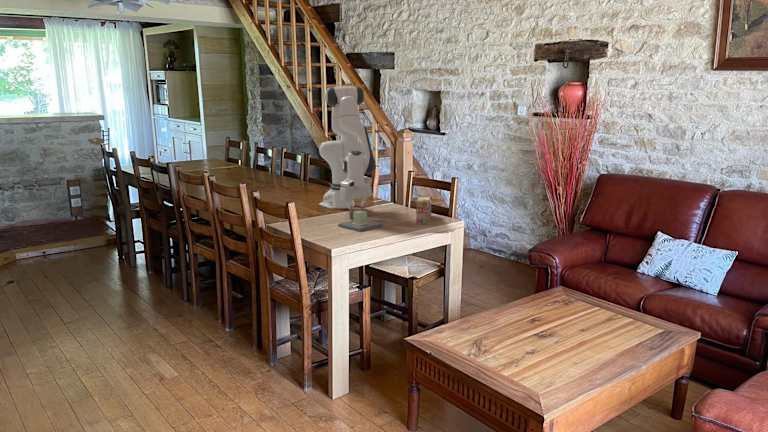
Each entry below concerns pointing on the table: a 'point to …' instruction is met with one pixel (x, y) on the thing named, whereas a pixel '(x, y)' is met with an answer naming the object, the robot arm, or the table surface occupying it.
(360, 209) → the walnut block
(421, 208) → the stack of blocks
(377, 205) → the table surface
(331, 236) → the table surface
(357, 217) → the green block
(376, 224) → the baseplate
